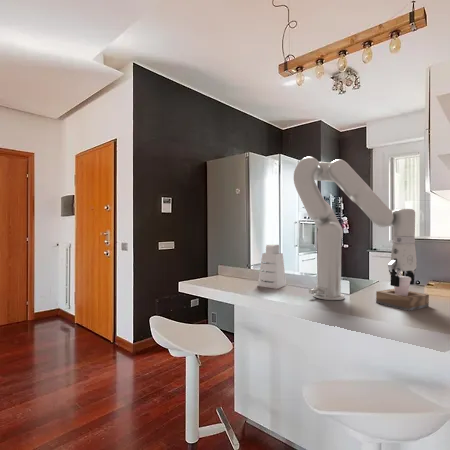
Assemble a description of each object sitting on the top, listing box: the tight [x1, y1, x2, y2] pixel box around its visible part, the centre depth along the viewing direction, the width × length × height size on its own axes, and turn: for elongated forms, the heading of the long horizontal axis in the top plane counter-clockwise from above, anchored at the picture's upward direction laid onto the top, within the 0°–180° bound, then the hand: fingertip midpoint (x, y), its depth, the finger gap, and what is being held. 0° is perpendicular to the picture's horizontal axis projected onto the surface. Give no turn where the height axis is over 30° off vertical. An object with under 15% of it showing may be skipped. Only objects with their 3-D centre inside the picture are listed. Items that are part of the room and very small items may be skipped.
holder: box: [375, 288, 430, 312], centre depth 126 cm, size 13×13×4 cm
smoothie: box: [393, 271, 411, 296], centre depth 126 cm, size 6×6×14 cm
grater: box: [257, 244, 287, 289], centre depth 159 cm, size 10×10×20 cm
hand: (402, 285), depth 126 cm, fingers open, 9 cm apart
